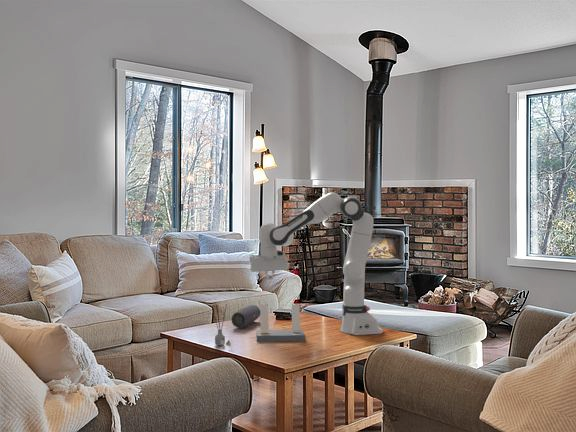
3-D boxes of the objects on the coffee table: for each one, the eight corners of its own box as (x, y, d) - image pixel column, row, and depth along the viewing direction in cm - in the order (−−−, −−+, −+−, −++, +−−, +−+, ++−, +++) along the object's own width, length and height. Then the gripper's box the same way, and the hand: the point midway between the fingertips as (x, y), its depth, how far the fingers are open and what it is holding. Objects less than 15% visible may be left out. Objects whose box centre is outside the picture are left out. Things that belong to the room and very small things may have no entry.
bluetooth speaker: (246, 330, 325) (246, 312, 324) (230, 329, 328) (230, 310, 327) (261, 322, 346) (261, 304, 346) (246, 320, 349) (246, 303, 349)
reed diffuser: (214, 348, 288) (214, 306, 287) (207, 345, 294) (207, 304, 293) (232, 344, 294) (232, 303, 294) (225, 342, 300) (225, 301, 299)
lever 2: (299, 331, 309) (299, 304, 313) (300, 330, 307) (299, 303, 312) (292, 331, 309) (291, 304, 313) (292, 330, 307) (291, 303, 311)
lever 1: (268, 331, 308) (268, 304, 312) (268, 331, 306) (268, 303, 310) (260, 331, 307) (260, 304, 312) (260, 331, 306) (260, 303, 310)
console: (302, 335, 314) (302, 329, 314) (305, 341, 302) (305, 335, 302) (256, 336, 312) (256, 330, 312) (257, 341, 300) (257, 335, 300)
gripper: (249, 254, 322) (250, 280, 319) (287, 252, 324) (289, 278, 321) (249, 255, 328) (250, 281, 326) (286, 253, 330) (288, 278, 328)
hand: (270, 279), depth 324 cm, fingers closed
